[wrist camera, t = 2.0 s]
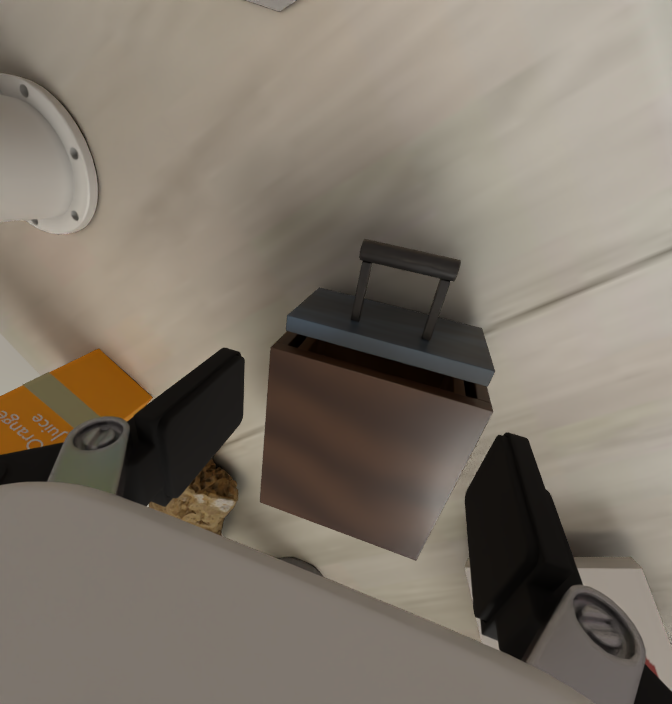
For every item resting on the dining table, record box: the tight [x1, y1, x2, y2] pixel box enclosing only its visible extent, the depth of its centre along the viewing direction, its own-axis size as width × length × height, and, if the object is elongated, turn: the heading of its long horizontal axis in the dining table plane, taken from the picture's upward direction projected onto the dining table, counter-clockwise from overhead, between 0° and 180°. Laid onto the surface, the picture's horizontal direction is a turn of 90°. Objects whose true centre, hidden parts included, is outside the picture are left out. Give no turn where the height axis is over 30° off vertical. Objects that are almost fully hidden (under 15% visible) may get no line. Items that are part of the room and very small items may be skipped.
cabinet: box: [260, 331, 493, 560], centre depth 29 cm, size 17×15×9 cm
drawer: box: [286, 239, 495, 396], centre depth 26 cm, size 21×14×7 cm, turn 170°
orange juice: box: [0, 349, 153, 455], centre depth 34 cm, size 8×9×20 cm
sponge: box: [149, 458, 238, 536], centre depth 45 cm, size 13×8×20 cm
